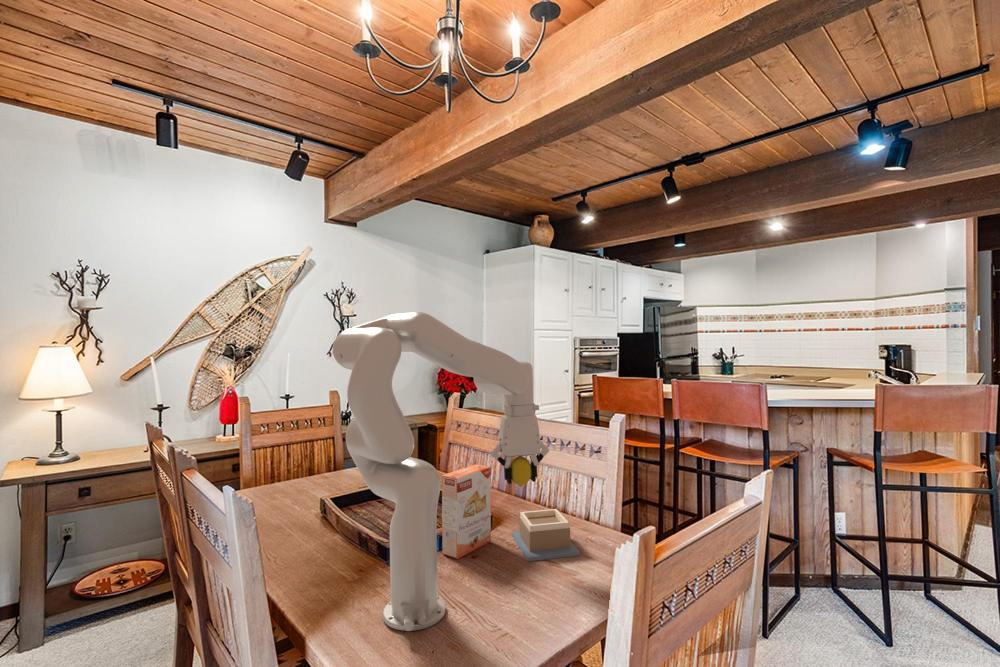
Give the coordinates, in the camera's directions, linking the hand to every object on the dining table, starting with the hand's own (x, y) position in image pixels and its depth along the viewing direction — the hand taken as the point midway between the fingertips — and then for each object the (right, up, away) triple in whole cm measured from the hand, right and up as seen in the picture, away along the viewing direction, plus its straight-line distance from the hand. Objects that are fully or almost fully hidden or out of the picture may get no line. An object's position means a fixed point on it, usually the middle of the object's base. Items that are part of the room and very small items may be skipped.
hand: (520, 480), depth 126 cm
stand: (+7, -20, +8) cm, 22 cm away
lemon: (0, -2, 0) cm, 2 cm away
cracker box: (-14, -20, +7) cm, 26 cm away
